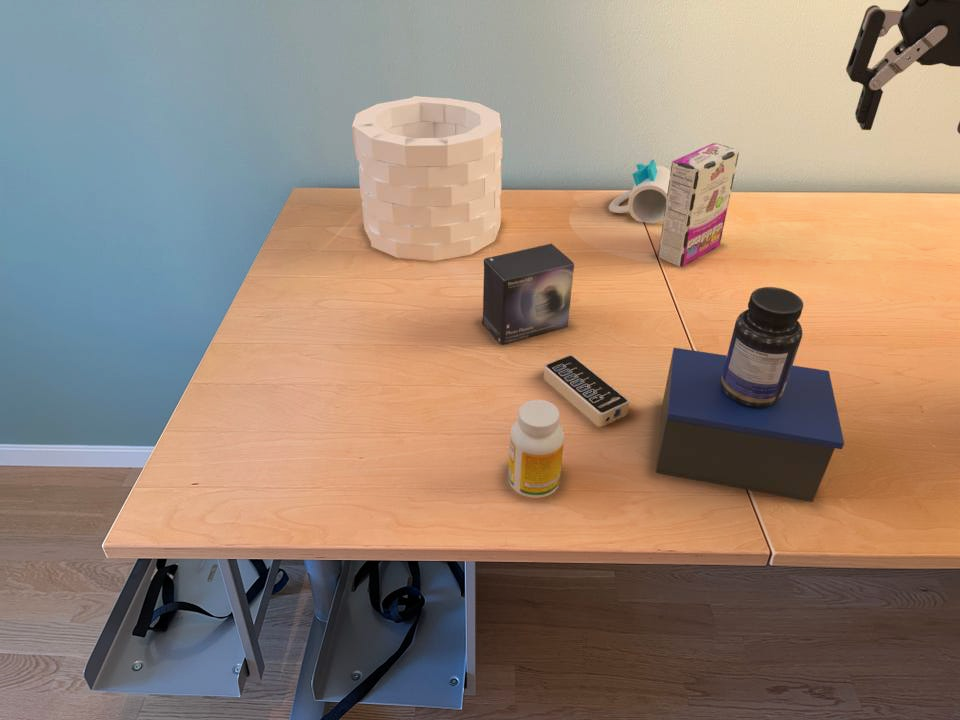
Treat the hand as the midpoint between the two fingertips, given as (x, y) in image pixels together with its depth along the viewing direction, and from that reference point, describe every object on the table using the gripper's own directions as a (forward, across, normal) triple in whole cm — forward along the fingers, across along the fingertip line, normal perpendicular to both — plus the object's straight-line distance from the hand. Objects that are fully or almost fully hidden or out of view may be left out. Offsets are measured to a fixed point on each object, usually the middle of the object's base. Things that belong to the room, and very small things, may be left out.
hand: (913, 130), depth 66 cm
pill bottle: (+23, -11, -14) cm, 29 cm away
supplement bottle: (+31, -31, -24) cm, 50 cm away
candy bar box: (+32, -17, +32) cm, 48 cm away
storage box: (+32, -11, -14) cm, 36 cm away
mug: (+32, -26, +47) cm, 63 cm away
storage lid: (+24, -11, -14) cm, 29 cm away
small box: (+31, -38, +4) cm, 49 cm away
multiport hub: (+31, -28, -9) cm, 43 cm away
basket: (+31, -60, +30) cm, 74 cm away
